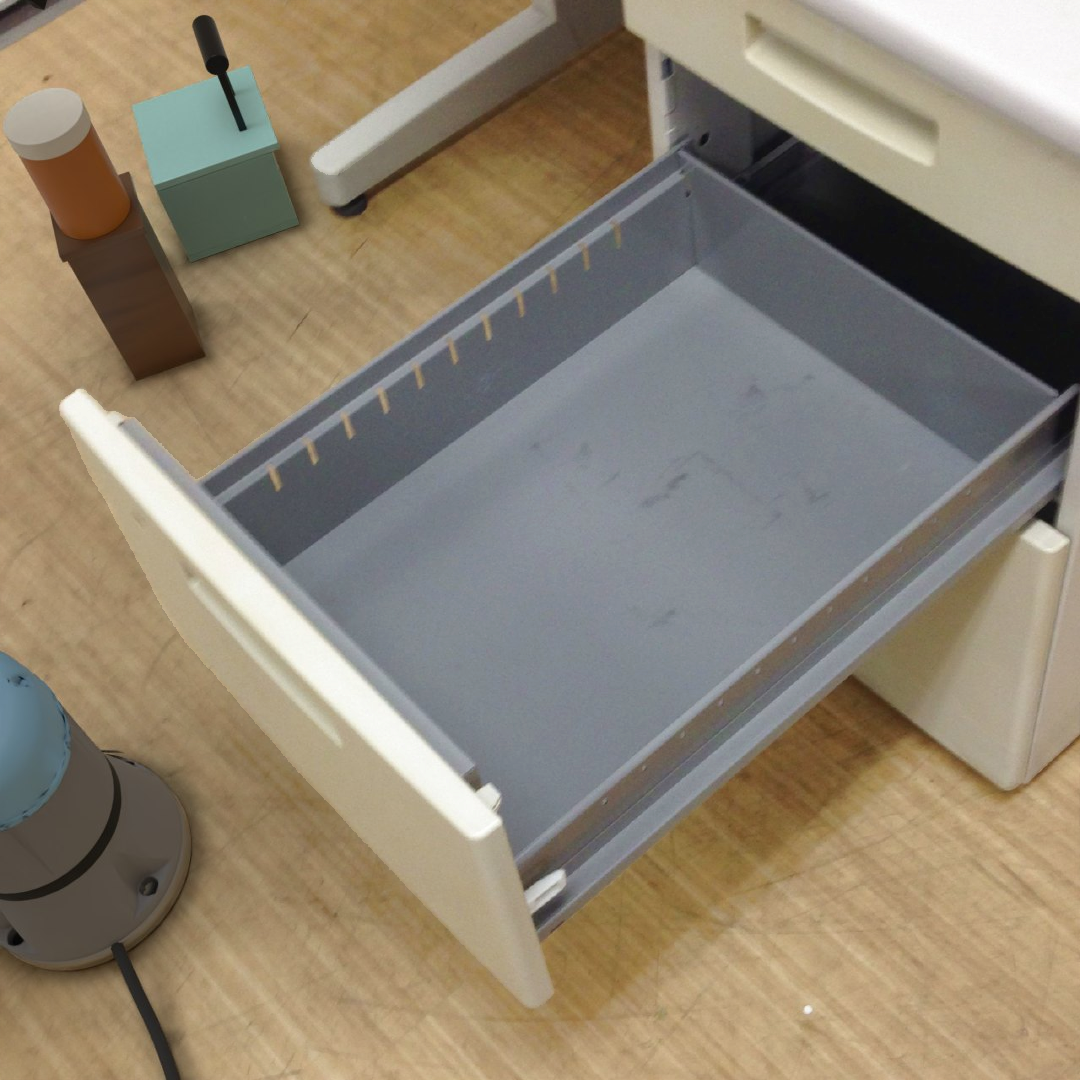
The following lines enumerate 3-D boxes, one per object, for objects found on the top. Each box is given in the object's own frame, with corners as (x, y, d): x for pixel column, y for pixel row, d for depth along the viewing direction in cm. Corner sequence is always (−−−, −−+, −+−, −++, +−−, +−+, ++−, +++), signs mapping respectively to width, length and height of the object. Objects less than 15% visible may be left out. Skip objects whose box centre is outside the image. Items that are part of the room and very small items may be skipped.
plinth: (209, 357, 133) (143, 226, 120) (133, 384, 132) (58, 256, 119) (194, 303, 137) (128, 170, 124) (120, 329, 136) (46, 199, 123)
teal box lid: (252, 71, 140) (220, -13, 132) (280, 149, 133) (249, 65, 126) (134, 111, 139) (95, 29, 131) (156, 192, 132) (117, 110, 125)
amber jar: (138, 224, 120) (88, 127, 112) (63, 251, 119) (7, 154, 111) (125, 175, 123) (76, 77, 115) (52, 200, 123) (-3, 104, 115)
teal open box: (272, 147, 147) (244, 74, 140) (299, 224, 140) (272, 152, 133) (167, 183, 146) (134, 112, 139) (190, 262, 140) (157, 192, 132)
